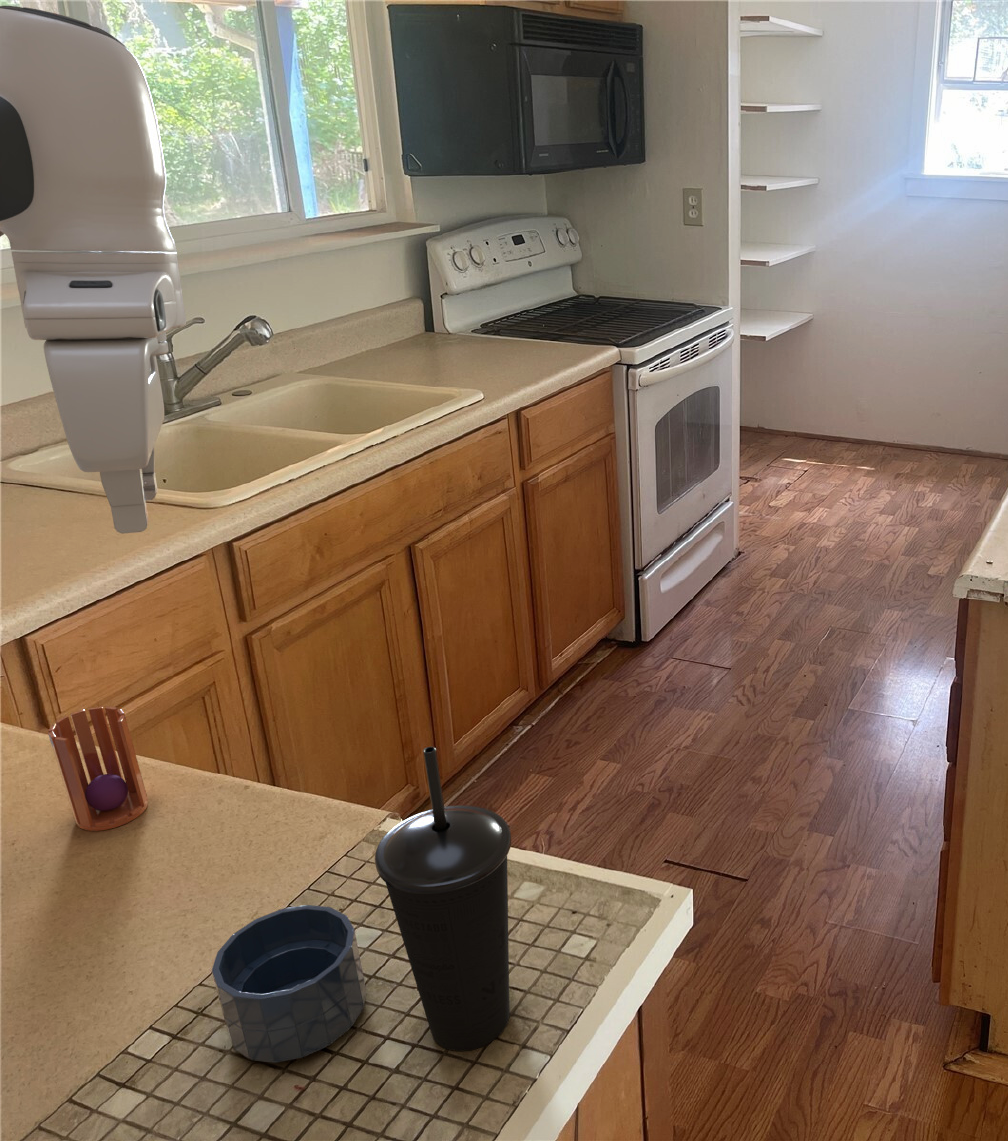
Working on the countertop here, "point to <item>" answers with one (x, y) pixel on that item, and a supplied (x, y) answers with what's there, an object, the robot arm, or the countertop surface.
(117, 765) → the slatted pencil cup
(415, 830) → the drinking cup
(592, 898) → the countertop surface
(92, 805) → the ball
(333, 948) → the bowl
